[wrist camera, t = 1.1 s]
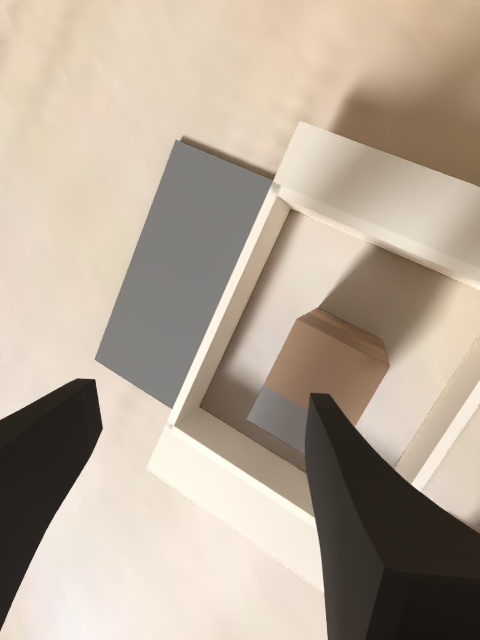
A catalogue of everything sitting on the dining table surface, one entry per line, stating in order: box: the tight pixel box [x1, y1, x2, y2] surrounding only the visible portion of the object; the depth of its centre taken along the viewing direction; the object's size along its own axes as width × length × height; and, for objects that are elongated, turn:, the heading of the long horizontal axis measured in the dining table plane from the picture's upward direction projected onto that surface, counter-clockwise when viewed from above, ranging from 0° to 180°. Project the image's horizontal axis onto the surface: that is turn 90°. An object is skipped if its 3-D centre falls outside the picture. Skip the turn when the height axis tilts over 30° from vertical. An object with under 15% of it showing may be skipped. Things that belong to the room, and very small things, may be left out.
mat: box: [95, 140, 273, 409], centre depth 24 cm, size 7×16×1 cm, turn 155°
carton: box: [146, 121, 480, 593], centre depth 20 cm, size 13×21×4 cm, turn 155°
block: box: [247, 308, 390, 455], centre depth 19 cm, size 4×5×7 cm
